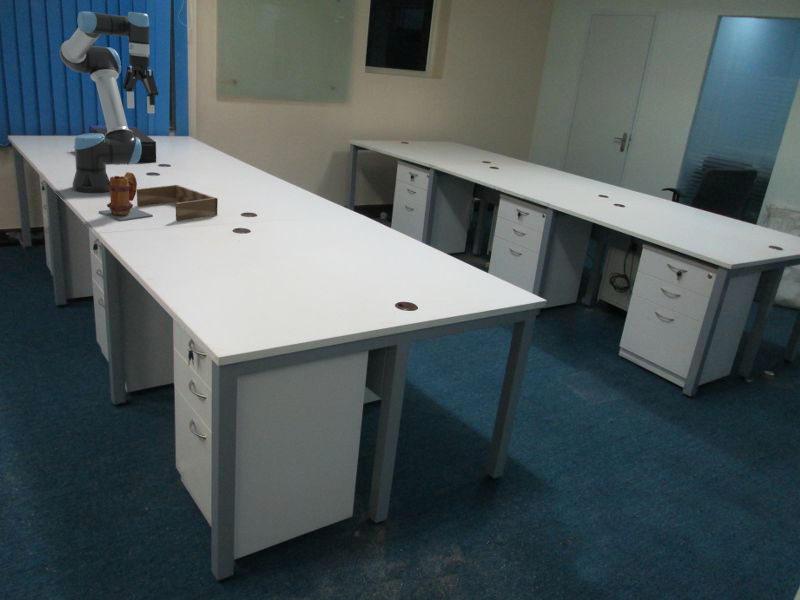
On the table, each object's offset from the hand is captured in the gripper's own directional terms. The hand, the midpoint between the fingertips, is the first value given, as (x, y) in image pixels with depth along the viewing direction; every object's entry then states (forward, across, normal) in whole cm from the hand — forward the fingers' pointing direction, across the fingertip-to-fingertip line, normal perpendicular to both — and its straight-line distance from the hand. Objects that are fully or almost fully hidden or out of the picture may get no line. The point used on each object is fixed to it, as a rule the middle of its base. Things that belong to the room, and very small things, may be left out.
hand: (140, 110), depth 261 cm
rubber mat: (+37, +17, -19) cm, 45 cm away
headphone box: (+37, -85, +45) cm, 103 cm away
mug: (+36, +16, -19) cm, 44 cm away
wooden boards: (+37, +21, +1) cm, 42 cm away
